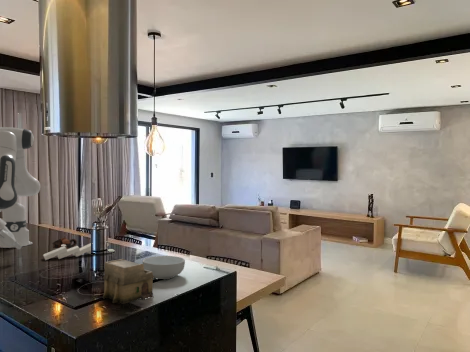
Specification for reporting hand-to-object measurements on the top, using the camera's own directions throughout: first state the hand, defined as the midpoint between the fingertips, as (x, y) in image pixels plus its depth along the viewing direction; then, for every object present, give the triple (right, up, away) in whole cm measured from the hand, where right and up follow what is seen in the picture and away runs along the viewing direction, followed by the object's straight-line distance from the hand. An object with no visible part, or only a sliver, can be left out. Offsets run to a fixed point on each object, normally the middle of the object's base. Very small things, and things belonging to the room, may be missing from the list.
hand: (20, 247), depth 165 cm
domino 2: (+13, -6, +9) cm, 17 cm away
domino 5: (+27, -7, +19) cm, 33 cm away
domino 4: (+24, -6, +18) cm, 31 cm away
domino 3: (+19, -6, +13) cm, 24 cm away
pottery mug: (+8, -7, +26) cm, 29 cm away
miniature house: (+64, -7, -45) cm, 78 cm away
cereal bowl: (+71, -8, -21) cm, 74 cm away
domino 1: (+8, -6, +6) cm, 11 cm away
